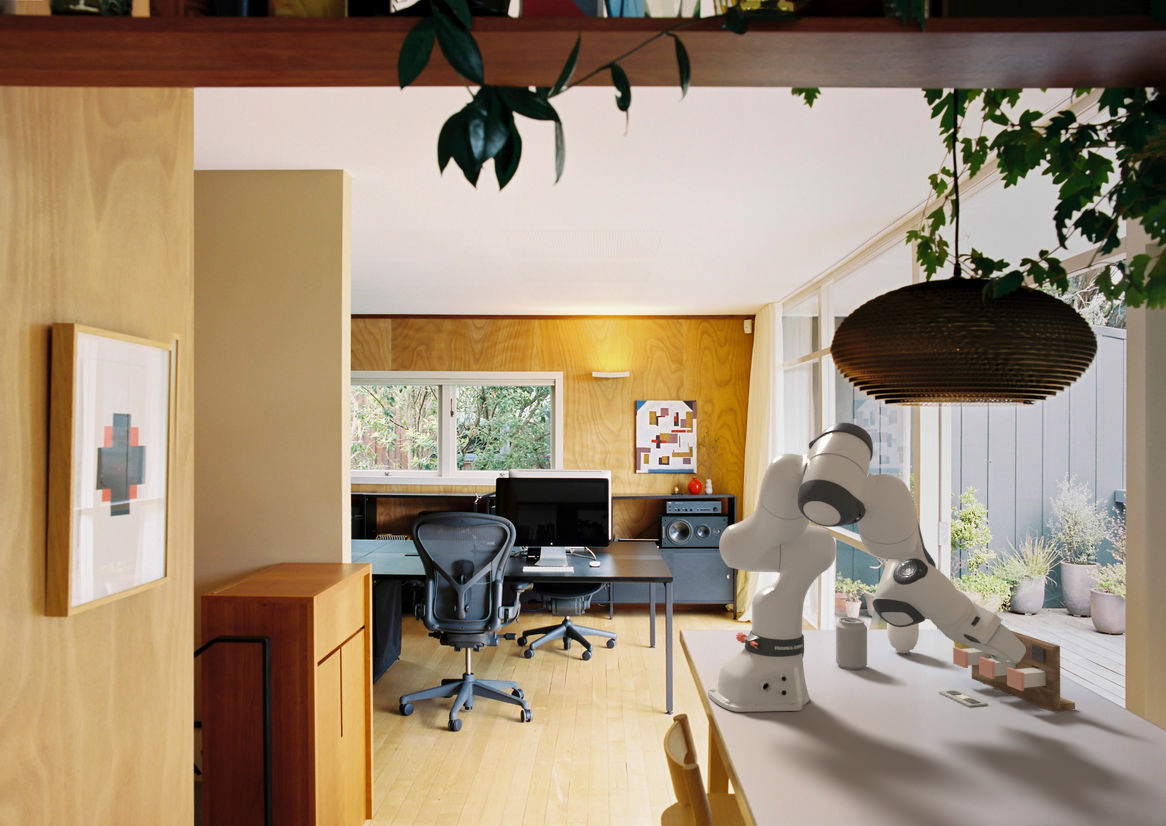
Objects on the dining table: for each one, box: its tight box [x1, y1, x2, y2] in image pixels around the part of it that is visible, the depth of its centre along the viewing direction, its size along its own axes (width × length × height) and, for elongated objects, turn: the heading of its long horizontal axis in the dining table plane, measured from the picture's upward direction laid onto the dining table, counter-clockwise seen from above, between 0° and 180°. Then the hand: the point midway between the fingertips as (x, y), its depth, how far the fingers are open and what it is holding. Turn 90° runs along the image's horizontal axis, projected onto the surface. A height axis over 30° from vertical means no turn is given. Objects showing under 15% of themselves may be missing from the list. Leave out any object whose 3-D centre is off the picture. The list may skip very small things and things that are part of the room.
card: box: [938, 689, 989, 708], centre depth 171 cm, size 5×9×1 cm, turn 16°
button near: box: [1007, 667, 1047, 691], centre depth 167 cm, size 9×4×4 cm, turn 106°
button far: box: [952, 646, 989, 669], centre depth 182 cm, size 9×4×4 cm, turn 106°
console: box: [971, 629, 1076, 713], centre depth 176 cm, size 6×23×14 cm, turn 16°
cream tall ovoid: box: [886, 622, 920, 655], centre depth 207 cm, size 8×8×18 cm
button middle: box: [979, 657, 1017, 679], centre depth 174 cm, size 9×4×4 cm, turn 106°
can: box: [835, 616, 868, 671], centre depth 195 cm, size 8×8×12 cm
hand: (1001, 659), depth 161 cm, fingers closed
